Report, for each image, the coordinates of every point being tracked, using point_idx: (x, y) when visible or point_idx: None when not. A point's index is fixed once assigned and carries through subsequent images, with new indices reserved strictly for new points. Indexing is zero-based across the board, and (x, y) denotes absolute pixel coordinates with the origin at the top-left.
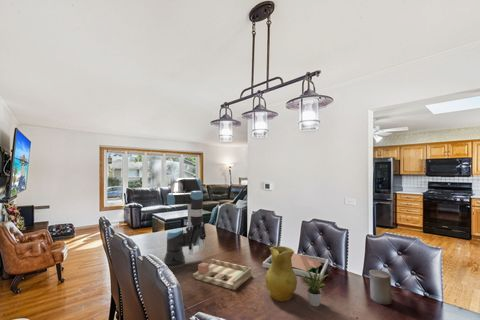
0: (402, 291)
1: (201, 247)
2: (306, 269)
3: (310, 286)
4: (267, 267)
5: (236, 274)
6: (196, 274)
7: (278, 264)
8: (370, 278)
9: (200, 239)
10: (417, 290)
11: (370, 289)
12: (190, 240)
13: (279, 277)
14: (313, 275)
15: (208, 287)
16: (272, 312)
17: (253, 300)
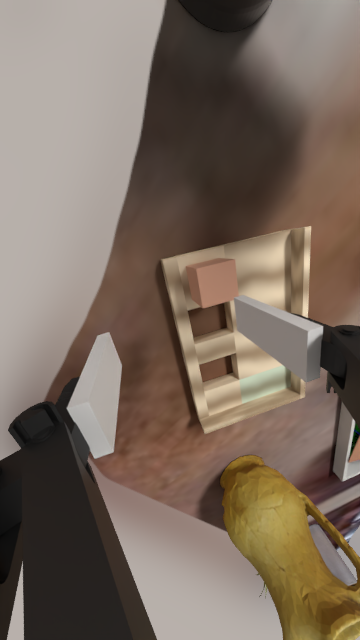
0: (342, 530)
1: (248, 329)
2: (355, 460)
3: None
4: None
5: (258, 375)
6: (169, 276)
7: (272, 598)
8: (333, 574)
9: (311, 347)
10: (351, 534)
11: (317, 545)
12: (10, 574)
13: (244, 556)
14: (340, 467)
15: (155, 358)
16: (180, 502)
17: (189, 463)
